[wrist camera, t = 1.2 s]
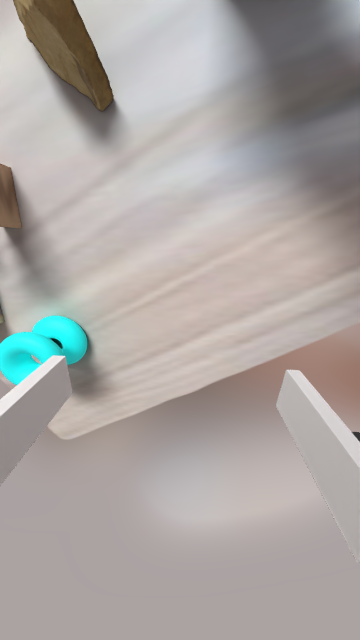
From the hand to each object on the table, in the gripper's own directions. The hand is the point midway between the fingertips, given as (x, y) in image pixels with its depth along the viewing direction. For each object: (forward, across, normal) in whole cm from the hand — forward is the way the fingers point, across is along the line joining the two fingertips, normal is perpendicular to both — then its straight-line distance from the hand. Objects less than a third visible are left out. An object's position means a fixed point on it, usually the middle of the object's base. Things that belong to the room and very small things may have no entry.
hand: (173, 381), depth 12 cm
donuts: (+24, -23, -10) cm, 35 cm away
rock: (+24, -15, +27) cm, 39 cm away
